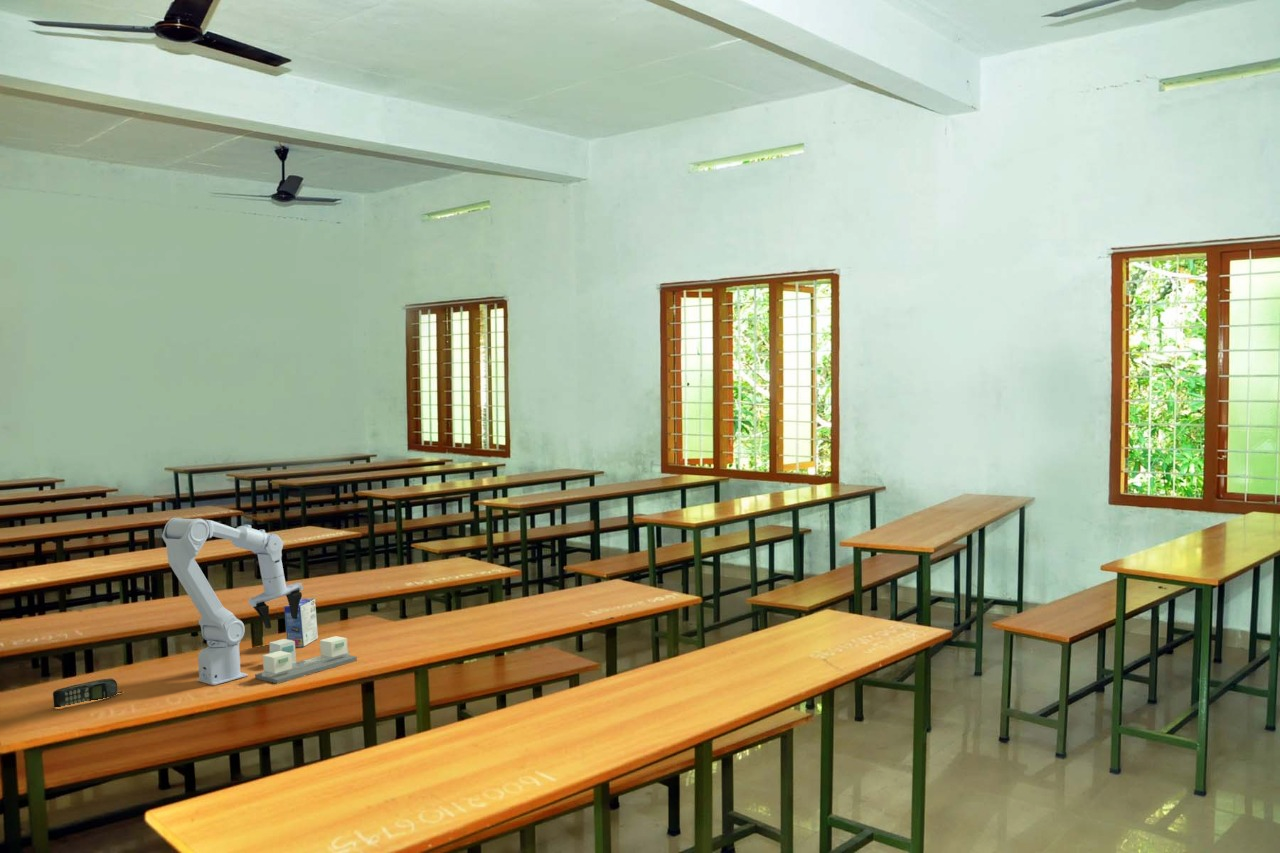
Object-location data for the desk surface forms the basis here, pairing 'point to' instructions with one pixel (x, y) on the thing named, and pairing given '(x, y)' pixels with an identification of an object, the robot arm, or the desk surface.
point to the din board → (308, 670)
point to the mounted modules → (284, 659)
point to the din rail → (304, 664)
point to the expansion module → (284, 647)
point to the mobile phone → (85, 692)
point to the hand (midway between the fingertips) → (281, 622)
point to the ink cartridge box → (302, 623)
